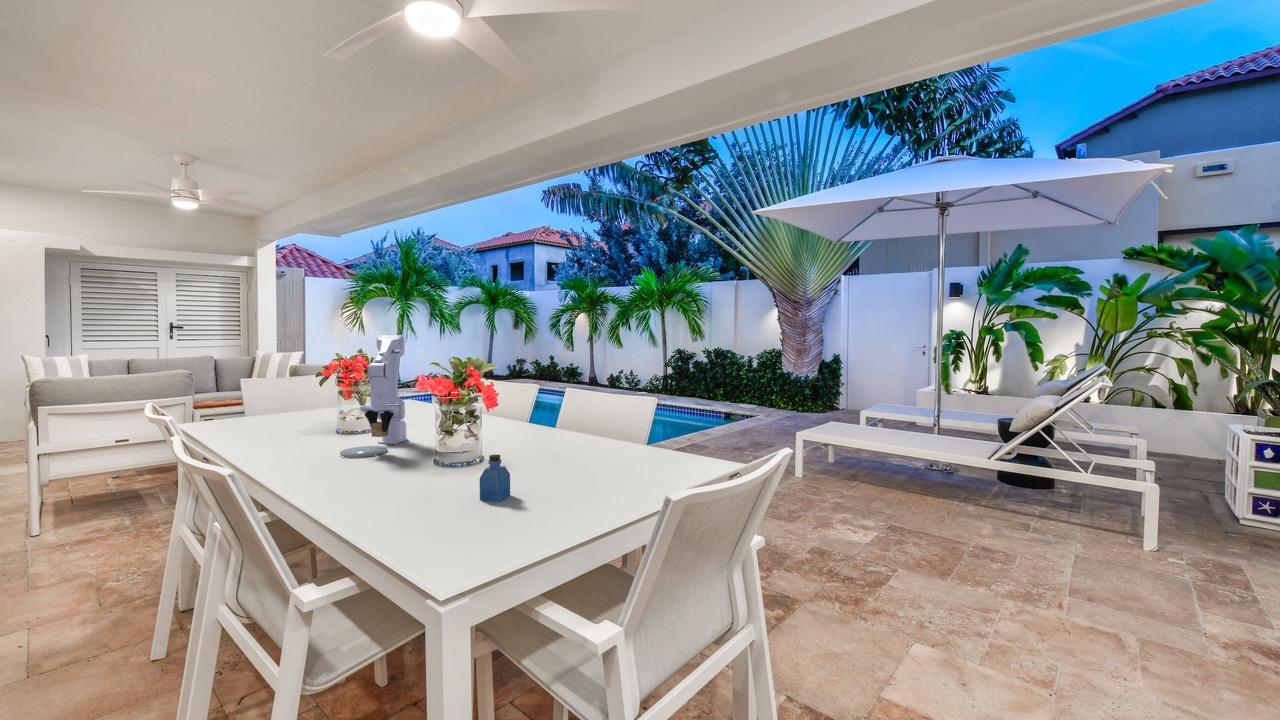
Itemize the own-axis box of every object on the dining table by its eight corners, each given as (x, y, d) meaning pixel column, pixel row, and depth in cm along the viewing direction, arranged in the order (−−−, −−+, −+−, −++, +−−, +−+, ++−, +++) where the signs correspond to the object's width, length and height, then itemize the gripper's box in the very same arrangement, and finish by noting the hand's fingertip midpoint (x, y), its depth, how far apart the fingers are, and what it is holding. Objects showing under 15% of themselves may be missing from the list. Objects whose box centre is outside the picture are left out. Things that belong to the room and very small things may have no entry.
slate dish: (359, 447, 220) (359, 445, 220) (396, 449, 217) (396, 446, 217) (329, 456, 204) (329, 454, 204) (369, 459, 201) (369, 456, 201)
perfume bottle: (500, 502, 154) (500, 458, 153) (479, 500, 155) (479, 457, 154) (510, 495, 160) (509, 453, 159) (490, 493, 161) (489, 452, 160)
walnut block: (378, 434, 212) (378, 421, 212) (388, 434, 211) (387, 421, 211) (371, 436, 208) (371, 423, 208) (381, 437, 207) (381, 423, 207)
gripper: (354, 395, 206) (355, 432, 207) (390, 396, 204) (390, 433, 204) (366, 393, 213) (367, 428, 214) (401, 394, 210) (402, 430, 211)
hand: (379, 431), depth 210 cm, fingers closed on walnut block, 4 cm apart
